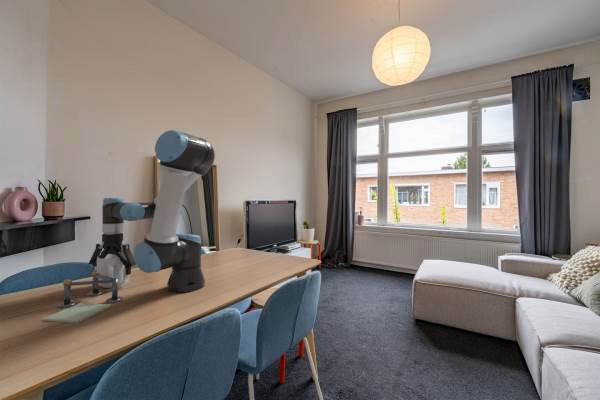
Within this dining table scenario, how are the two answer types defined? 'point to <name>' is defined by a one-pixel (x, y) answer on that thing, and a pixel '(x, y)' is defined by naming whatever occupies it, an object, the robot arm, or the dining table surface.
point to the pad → (76, 313)
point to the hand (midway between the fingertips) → (111, 281)
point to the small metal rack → (95, 292)
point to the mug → (110, 269)
